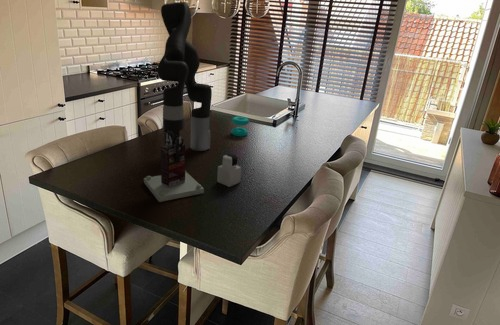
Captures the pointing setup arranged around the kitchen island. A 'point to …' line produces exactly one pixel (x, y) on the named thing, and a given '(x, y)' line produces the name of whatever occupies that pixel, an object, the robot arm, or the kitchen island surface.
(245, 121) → the donuts
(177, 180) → the supplement box
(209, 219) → the kitchen island surface
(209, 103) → the robot arm
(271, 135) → the kitchen island surface
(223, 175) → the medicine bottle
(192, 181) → the stud plate
